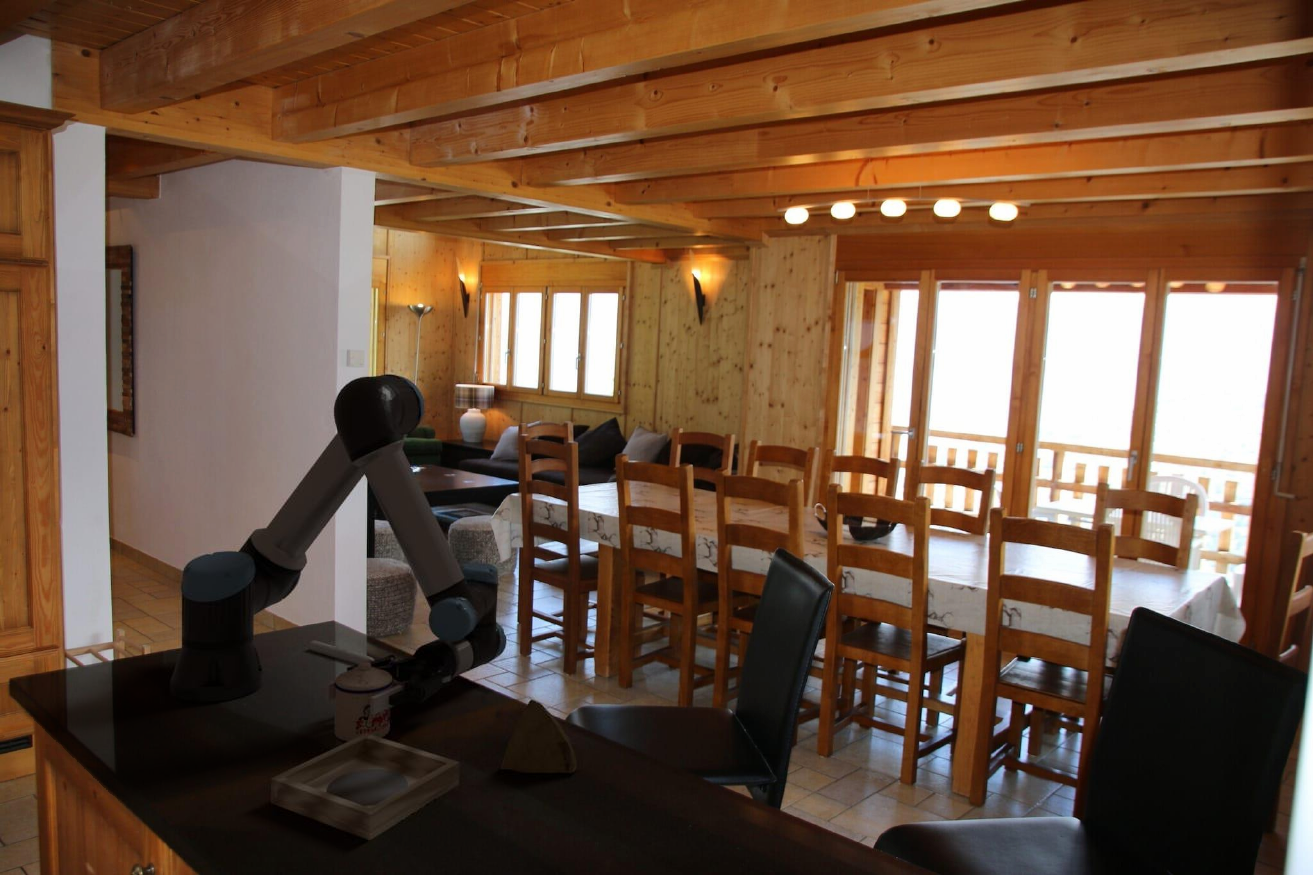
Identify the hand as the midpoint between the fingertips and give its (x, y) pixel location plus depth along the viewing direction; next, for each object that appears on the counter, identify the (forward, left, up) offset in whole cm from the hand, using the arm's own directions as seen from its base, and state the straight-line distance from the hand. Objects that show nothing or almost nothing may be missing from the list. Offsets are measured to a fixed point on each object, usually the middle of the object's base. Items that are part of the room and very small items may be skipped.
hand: (349, 699), depth 149 cm
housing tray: (+15, -11, -7) cm, 20 cm away
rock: (+31, +9, -7) cm, 33 cm away
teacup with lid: (0, +4, -7) cm, 8 cm away
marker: (-28, +27, -7) cm, 40 cm away
